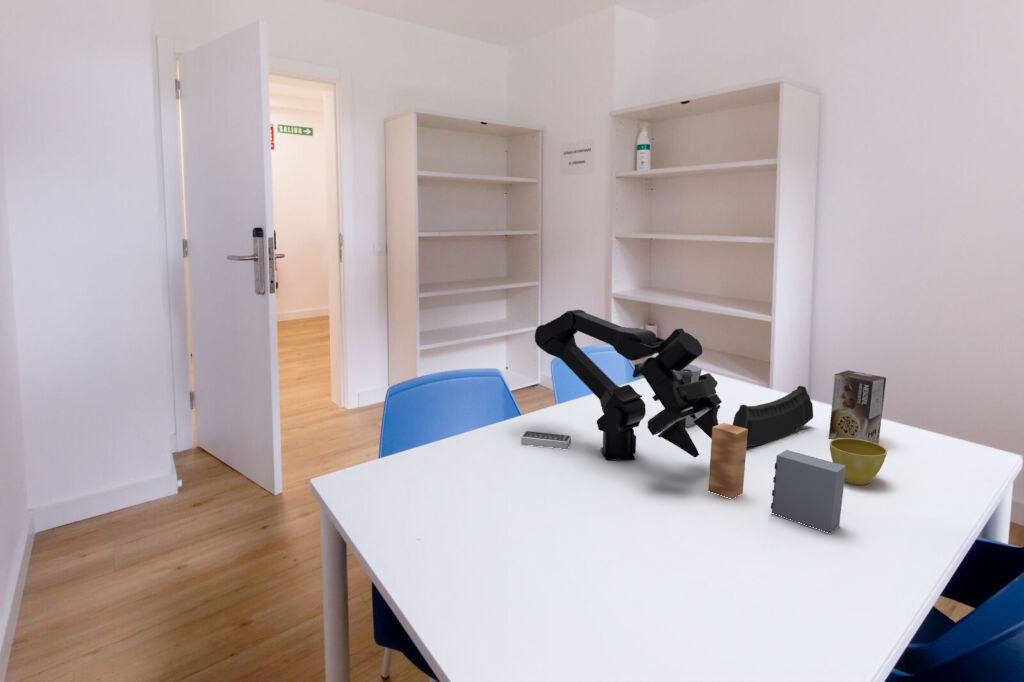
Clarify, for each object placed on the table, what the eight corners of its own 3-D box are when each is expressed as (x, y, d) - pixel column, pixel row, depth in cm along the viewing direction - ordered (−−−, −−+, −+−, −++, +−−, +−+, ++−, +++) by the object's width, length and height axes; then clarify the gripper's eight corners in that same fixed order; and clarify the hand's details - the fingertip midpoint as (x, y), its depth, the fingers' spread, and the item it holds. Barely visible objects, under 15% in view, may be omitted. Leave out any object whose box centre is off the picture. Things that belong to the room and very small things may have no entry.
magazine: (736, 417, 137) (810, 361, 152) (723, 413, 140) (797, 359, 154) (743, 482, 143) (814, 422, 158) (731, 477, 146) (802, 419, 160)
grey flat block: (770, 513, 111) (775, 455, 109) (781, 506, 114) (786, 449, 112) (829, 534, 104) (836, 472, 102) (839, 526, 107) (846, 465, 105)
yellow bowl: (814, 474, 129) (818, 441, 127) (849, 467, 133) (853, 435, 131) (858, 494, 120) (862, 458, 118) (894, 485, 124) (899, 451, 122)
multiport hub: (526, 439, 149) (526, 430, 149) (571, 444, 146) (571, 435, 145) (520, 446, 145) (520, 436, 144) (567, 451, 142) (567, 442, 141)
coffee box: (879, 444, 146) (888, 377, 143) (865, 449, 143) (873, 381, 140) (841, 433, 154) (848, 369, 151) (827, 438, 150) (834, 372, 147)
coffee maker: (660, 413, 168) (664, 348, 165) (694, 415, 167) (698, 349, 164) (666, 432, 154) (670, 361, 150) (703, 434, 152) (708, 362, 149)
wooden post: (708, 491, 121) (712, 427, 118) (718, 485, 123) (723, 422, 121) (731, 500, 117) (737, 433, 114) (742, 493, 120) (747, 429, 117)
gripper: (664, 369, 116) (714, 442, 110) (716, 354, 128) (763, 419, 122) (627, 400, 123) (672, 470, 117) (680, 383, 135) (723, 446, 130)
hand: (709, 450), depth 121 cm, fingers open, 9 cm apart
